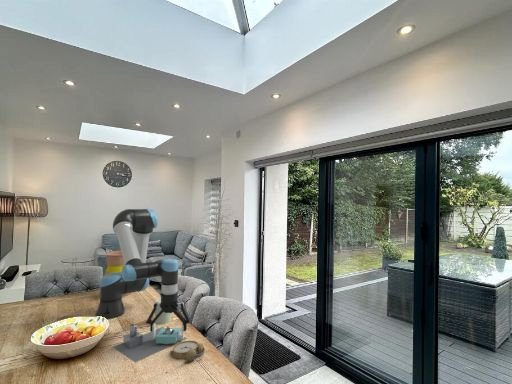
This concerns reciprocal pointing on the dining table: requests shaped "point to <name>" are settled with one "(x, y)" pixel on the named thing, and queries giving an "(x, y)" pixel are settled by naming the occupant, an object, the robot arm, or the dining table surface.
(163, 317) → the can
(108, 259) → the vase
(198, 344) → the alarm clock
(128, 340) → the stand
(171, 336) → the teal square collar
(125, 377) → the dining table surface
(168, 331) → the bell
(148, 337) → the mat
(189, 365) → the dining table surface
